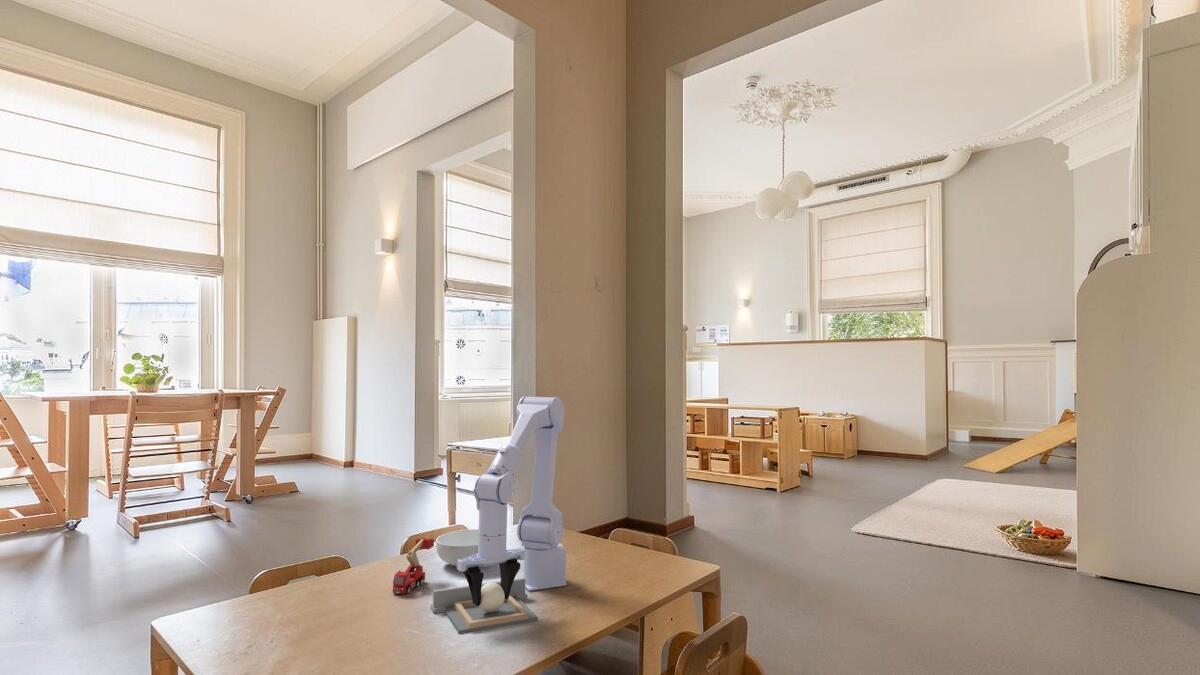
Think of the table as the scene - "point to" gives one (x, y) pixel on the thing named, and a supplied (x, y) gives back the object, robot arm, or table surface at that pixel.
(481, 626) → the resting mat
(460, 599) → the grey barrier bar
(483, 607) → the ball
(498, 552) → the robot arm
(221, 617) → the table surface
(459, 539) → the cereal bowl
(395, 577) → the toy fire truck
